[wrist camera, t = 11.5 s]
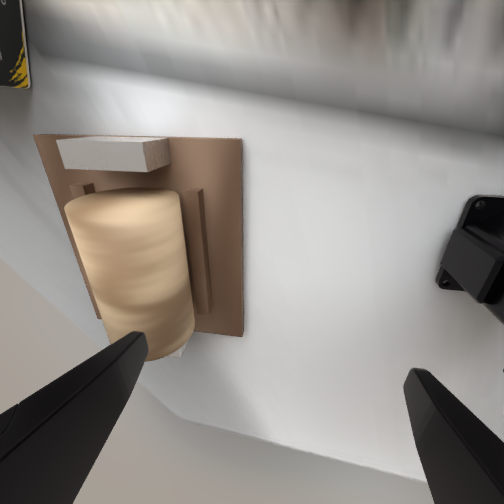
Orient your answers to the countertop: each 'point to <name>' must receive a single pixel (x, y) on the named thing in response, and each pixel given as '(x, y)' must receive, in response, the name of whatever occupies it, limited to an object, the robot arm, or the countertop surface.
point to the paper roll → (136, 264)
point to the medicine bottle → (13, 46)
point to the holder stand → (191, 202)
